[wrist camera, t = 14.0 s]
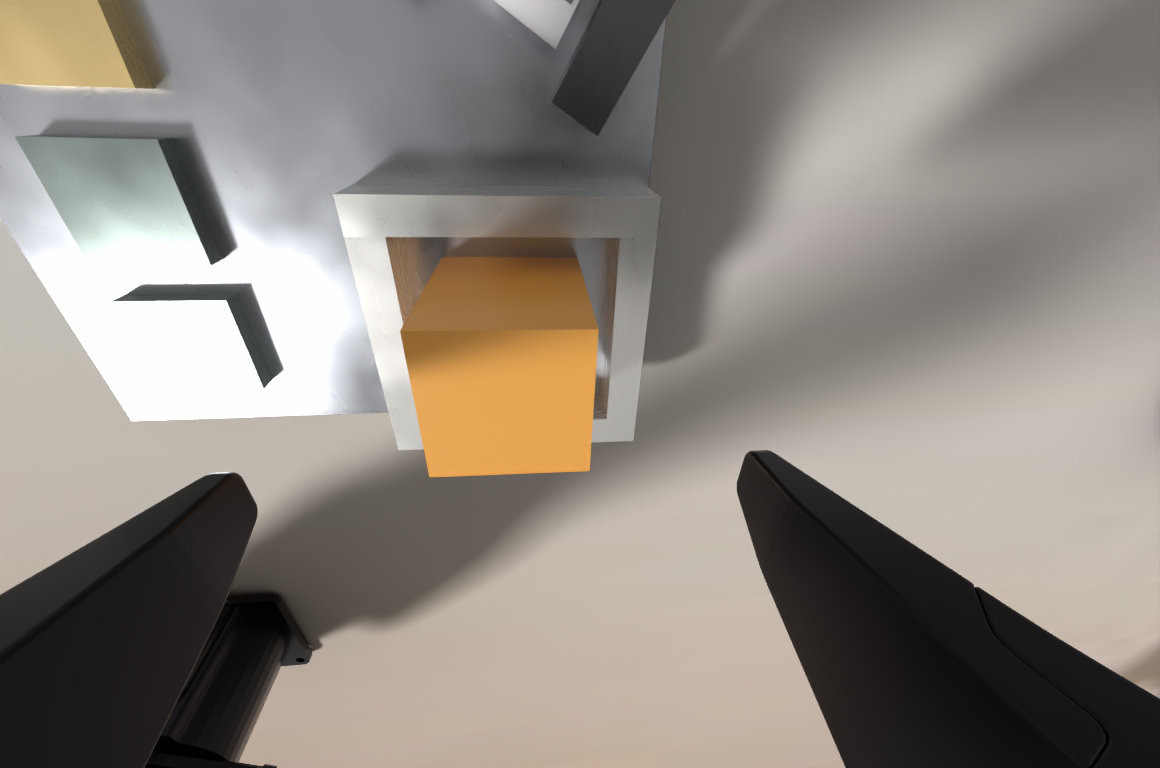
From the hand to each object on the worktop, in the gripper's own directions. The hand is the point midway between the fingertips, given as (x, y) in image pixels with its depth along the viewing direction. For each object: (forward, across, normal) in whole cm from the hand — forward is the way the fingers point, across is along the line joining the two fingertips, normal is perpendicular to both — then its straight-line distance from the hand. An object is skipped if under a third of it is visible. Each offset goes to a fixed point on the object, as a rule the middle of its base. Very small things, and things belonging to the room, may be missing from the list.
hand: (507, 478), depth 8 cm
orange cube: (+7, 0, 0) cm, 7 cm away
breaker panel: (+9, +5, -4) cm, 11 cm away
